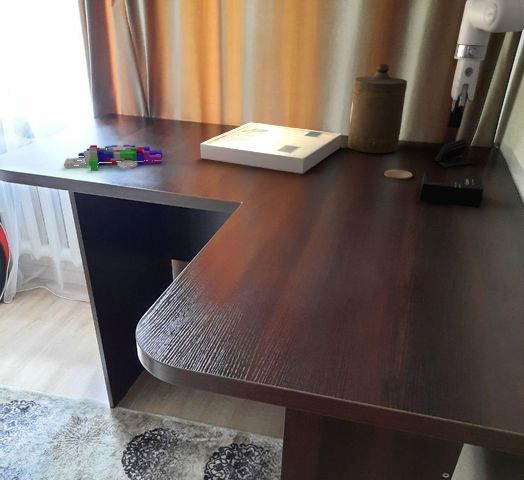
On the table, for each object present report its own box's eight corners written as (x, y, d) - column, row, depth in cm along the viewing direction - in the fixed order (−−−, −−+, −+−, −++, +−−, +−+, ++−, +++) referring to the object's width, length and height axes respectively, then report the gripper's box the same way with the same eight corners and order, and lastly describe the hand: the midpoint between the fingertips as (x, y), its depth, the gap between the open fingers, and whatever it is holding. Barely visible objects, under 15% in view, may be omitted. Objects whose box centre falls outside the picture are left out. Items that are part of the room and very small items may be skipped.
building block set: (161, 147, 149) (159, 131, 146) (162, 168, 132) (160, 150, 130) (73, 150, 145) (69, 134, 142) (63, 171, 129) (59, 153, 126)
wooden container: (373, 138, 161) (383, 59, 148) (407, 149, 151) (422, 65, 138) (337, 144, 154) (345, 62, 142) (371, 156, 144) (382, 68, 131)
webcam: (457, 158, 144) (462, 137, 140) (472, 164, 139) (478, 142, 136) (431, 161, 141) (436, 140, 137) (446, 167, 136) (451, 145, 133)
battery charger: (477, 194, 119) (481, 176, 116) (479, 207, 111) (484, 189, 109) (420, 188, 122) (423, 171, 119) (418, 201, 114) (422, 183, 112)
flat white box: (250, 122, 161) (341, 133, 150) (250, 135, 163) (340, 147, 152) (200, 143, 138) (303, 158, 128) (200, 158, 140) (302, 173, 130)
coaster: (411, 172, 132) (411, 170, 132) (412, 180, 127) (413, 178, 127) (384, 170, 133) (384, 168, 133) (384, 178, 128) (384, 176, 128)
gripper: (490, 56, 126) (470, 134, 137) (480, 50, 138) (463, 122, 149) (458, 55, 127) (442, 132, 138) (452, 48, 139) (437, 120, 150)
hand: (453, 127), depth 143 cm, fingers closed
